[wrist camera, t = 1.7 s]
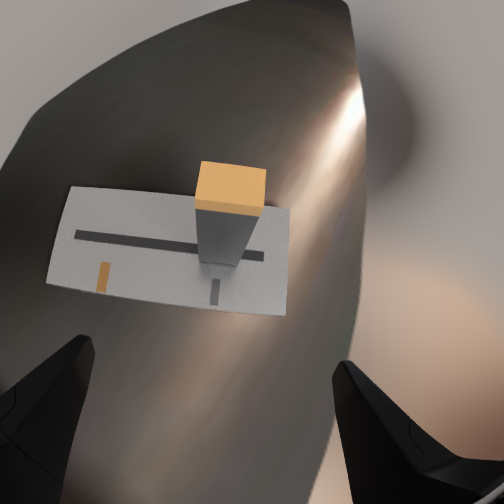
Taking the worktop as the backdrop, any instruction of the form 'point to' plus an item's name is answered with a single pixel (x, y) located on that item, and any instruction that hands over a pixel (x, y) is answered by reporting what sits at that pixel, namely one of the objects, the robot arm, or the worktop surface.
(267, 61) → the worktop surface
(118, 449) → the worktop surface
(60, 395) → the robot arm
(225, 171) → the fader lever
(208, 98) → the worktop surface
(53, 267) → the fader console
